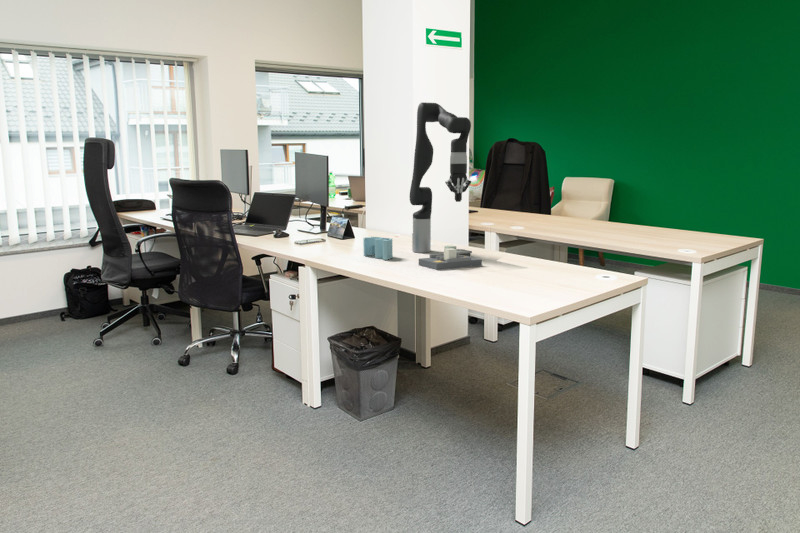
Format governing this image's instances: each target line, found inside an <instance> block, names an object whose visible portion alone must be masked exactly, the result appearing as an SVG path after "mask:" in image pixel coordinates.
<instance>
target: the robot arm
mask: <svg viewBox="0 0 800 533" xmlns="http://www.w3.org/2000/svg"><path fill="white" fill-rule="evenodd" d="M437 122H438V123H439V125H440V126H442V128H445V129H446V130H447V132H449V133H450V134H460V135H459V137H458V138H454V139H451V142H450V158H449V162H450V163H449V174H450V176H449V178H448V180H445V184H446V186H447V188H448V189H449V190H450V192H452V193H453V194H454V201H455V202H456V203H457V202H459V203H460V202H461V201H462V198H463V197H462V196H463V193H464V192H466V191H467V190H468V188H469V186H470V185H471V183H472V181H471V180H469V179H468V176H467V173H468V155H467V151H468V149H467V148H468V146H467V144H468V139H469V135H470V132H471V128H472V122H471V120H470V119H469V117H462V116H457V115H456V114H454V113H452V112H449V111H447V110H446V109H445V108H444V107H443V106H442V105H441V104H439V103H437V102H420V103H419V104H418V107H417V112H416V137H415V148H414V156H413V157H414V158H413V170H412V180H411V182H410V183H411V184H410V190H409V202H410V204H411V205H412V206H421V208H420V209H418V210H417V211H415V212H413V213H412V233H411V237H412V238H411V239H412V241H411V242H412V244H411V247H412V248H411V250H412V253H419V254H422V253H424V254H425V253H431V247H432V246H431V245H432V244H431V240H432V237H431V232H432V231H431V228H432V225H431V224H432V220H431V219H432V212H433V211H432V208H433V206H432V205H433V204H432V203H433V191H432V188H430V187H429V186H421V183H422V179H423V178H424V176H425V175H426V173H427V172H428V171H429V169H430V168H431V166H432V164H433V160H434V159H433V158H434V157H433V156H434V146H433V144H432V142H431V140H430V138H429V136H428V134H427V128H426V125H427V124H426V123H437Z"/></svg>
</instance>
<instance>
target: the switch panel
mask: <svg viewBox="0 0 800 533" xmlns="http://www.w3.org/2000/svg"><path fill="white" fill-rule="evenodd" d="M418 266H420V267H425V268H428V269H431V270H433V271H434V270H435V271H441V270H443V271H445V270H452V269H453V270H454V269H463V268H464V269H465V268H473V267H482V266H483V259H482V258H478V257H477V258H476V257H473V256H470V257H469V256H464V255H460V254H457V255H456V258H449V259H447V261H446V260H444V252H443V253H436V254H435V253H433V254H429V257H425V258H424V257H423V258H418Z"/></svg>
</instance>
